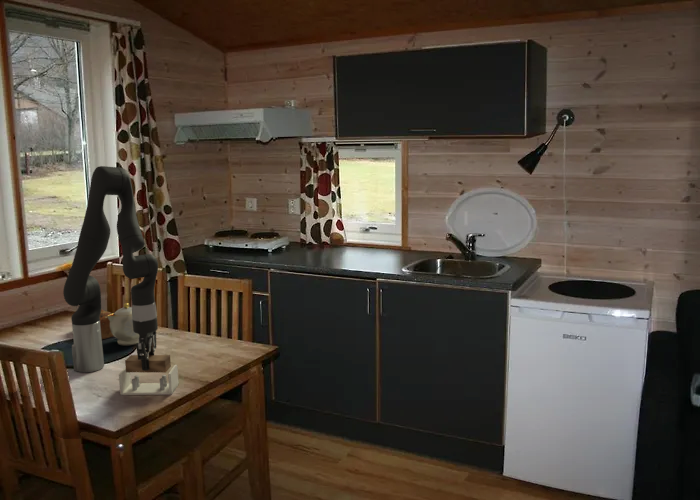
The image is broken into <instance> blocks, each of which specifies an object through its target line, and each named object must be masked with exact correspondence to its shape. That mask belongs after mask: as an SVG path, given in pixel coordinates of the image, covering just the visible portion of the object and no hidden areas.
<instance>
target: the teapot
mask: <svg viewBox="0 0 700 500" xmlns="http://www.w3.org/2000/svg"><path fill="white" fill-rule="evenodd" d="M108 319H109V320H110V330H111V332H112V334H113V335H114V338H115V339H117V341H116V342H117V345H120V346H123V347H124V346H125V347H128V346H134V345H136V343H138V339H139V334H137V333H135V332H134V331H133V321H132V306H130V303H128V302H125V303H123V307H122V308H119V309H117V310H116V311H115V312H113V313H112V314H110V315H108Z"/></svg>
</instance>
